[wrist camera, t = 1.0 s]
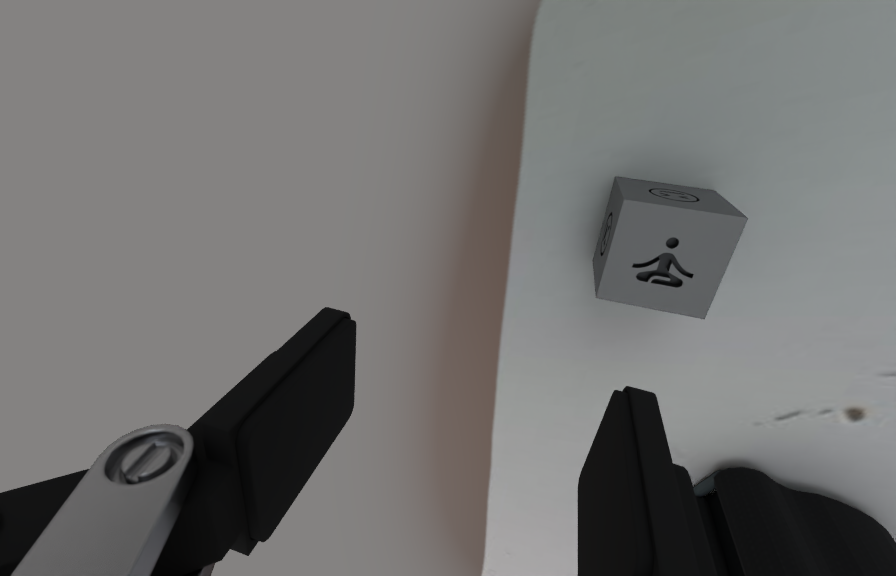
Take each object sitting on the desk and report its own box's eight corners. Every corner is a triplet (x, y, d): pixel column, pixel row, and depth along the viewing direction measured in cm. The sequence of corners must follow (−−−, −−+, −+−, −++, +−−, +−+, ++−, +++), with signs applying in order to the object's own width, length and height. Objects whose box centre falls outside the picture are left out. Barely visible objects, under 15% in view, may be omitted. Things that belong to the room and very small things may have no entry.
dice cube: (592, 260, 26) (595, 297, 21) (615, 176, 23) (624, 199, 19) (682, 276, 25) (704, 319, 20) (714, 190, 22) (748, 218, 18)
